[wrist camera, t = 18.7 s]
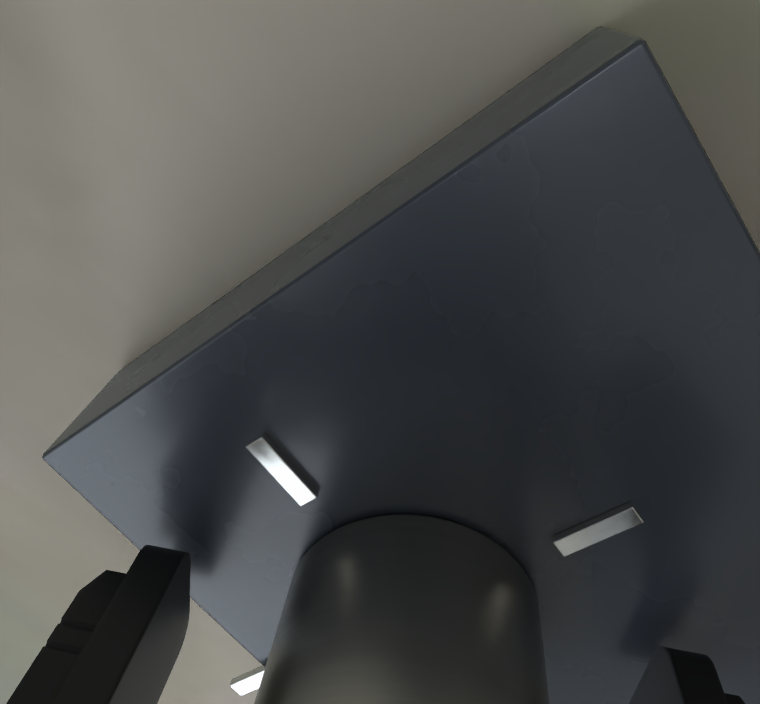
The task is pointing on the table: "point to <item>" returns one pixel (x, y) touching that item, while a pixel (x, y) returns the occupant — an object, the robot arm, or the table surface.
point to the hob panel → (482, 385)
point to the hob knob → (407, 620)
